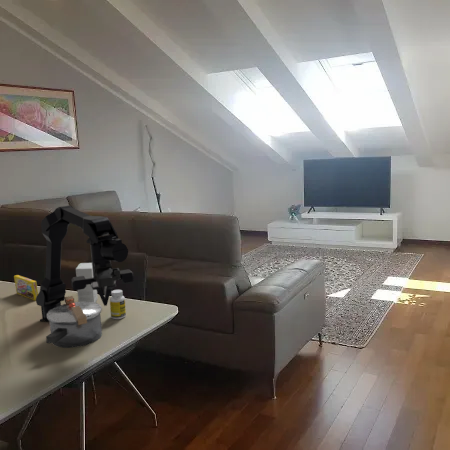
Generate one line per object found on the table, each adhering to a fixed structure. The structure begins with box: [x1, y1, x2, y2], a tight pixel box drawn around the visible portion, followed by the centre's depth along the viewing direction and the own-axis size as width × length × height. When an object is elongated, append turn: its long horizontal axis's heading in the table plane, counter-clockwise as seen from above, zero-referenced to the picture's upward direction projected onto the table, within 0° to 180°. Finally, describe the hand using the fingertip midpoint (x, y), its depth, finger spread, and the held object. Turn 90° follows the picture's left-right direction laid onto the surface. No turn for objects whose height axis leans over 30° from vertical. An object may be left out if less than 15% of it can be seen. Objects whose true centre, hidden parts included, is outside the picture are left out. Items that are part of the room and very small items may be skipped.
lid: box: [47, 295, 103, 325], centre depth 152 cm, size 24×17×3 cm
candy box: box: [13, 274, 39, 302], centre depth 198 cm, size 16×2×8 cm, turn 50°
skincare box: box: [75, 262, 98, 303], centre depth 187 cm, size 8×7×16 cm
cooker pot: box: [45, 313, 103, 349], centre depth 153 cm, size 16×26×8 cm, turn 168°
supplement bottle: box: [109, 289, 127, 320], centre depth 171 cm, size 5×5×10 cm
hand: (105, 305), depth 149 cm, fingers closed
